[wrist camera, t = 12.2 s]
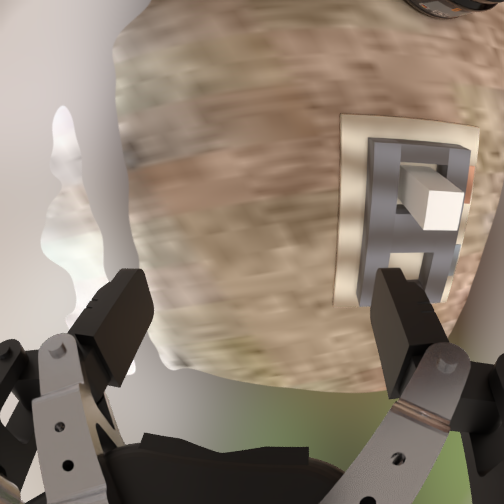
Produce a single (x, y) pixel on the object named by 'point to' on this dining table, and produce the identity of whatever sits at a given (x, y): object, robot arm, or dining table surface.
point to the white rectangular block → (430, 198)
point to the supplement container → (452, 7)
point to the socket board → (397, 203)
